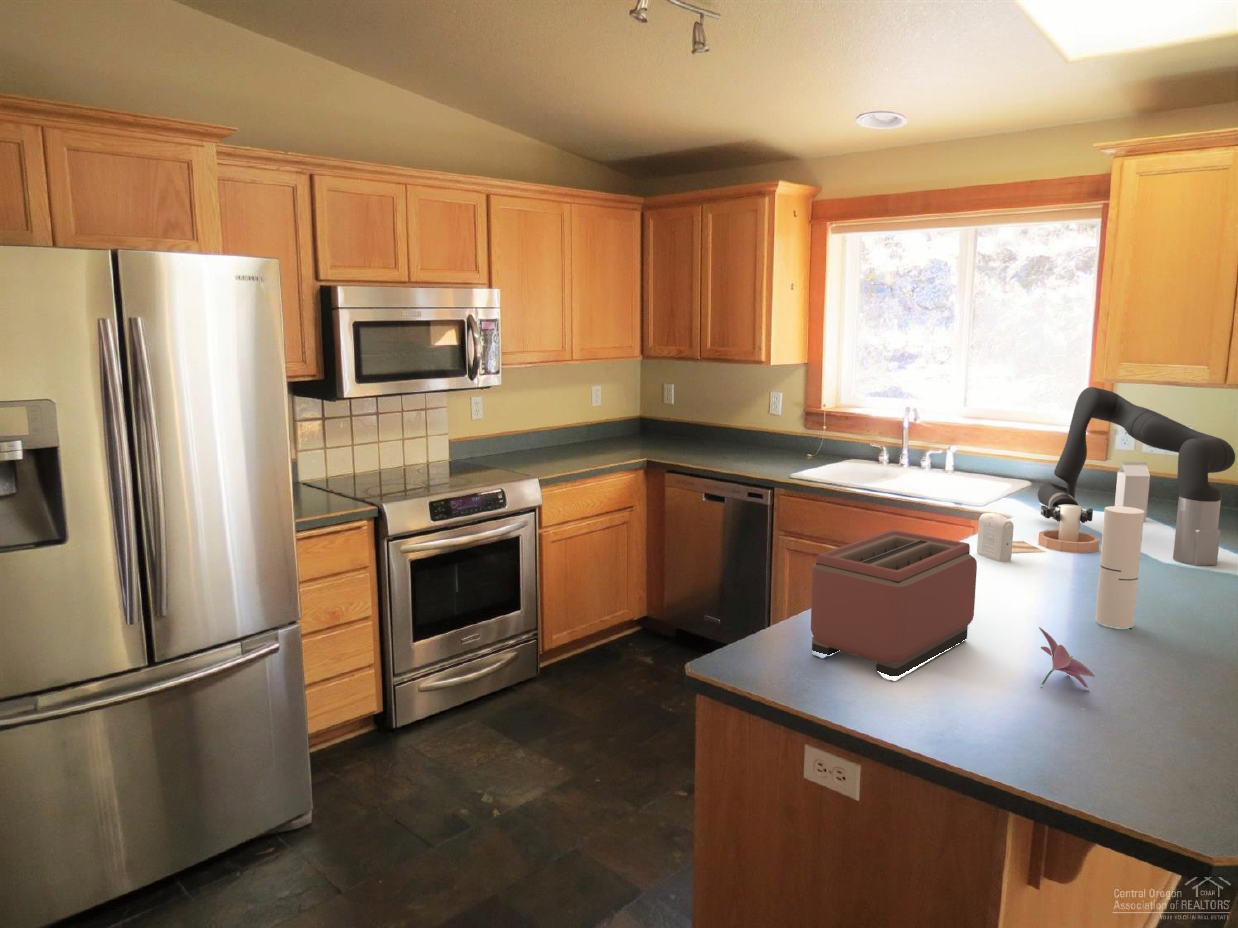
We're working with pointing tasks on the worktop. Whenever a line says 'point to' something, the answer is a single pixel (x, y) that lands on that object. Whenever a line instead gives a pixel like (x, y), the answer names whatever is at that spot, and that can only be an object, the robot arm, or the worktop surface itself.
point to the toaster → (893, 599)
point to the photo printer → (995, 537)
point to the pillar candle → (1069, 523)
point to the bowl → (1068, 542)
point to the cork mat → (1024, 547)
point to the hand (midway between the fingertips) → (1071, 518)
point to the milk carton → (1133, 486)
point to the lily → (1064, 661)
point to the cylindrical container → (1119, 566)
